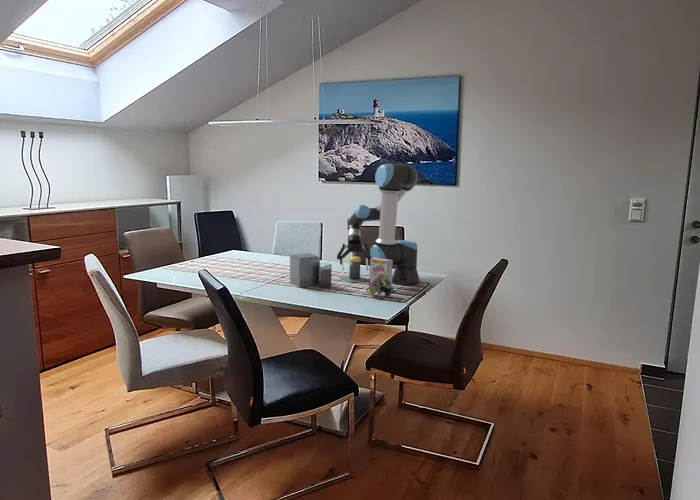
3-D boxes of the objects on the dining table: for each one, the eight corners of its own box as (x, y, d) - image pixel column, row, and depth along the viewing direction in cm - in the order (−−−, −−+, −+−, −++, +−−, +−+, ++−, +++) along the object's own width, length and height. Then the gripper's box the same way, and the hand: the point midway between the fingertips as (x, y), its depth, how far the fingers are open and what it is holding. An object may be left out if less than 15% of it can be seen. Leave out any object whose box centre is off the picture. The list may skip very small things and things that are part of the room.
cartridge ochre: (362, 279, 289) (362, 258, 287) (352, 280, 286) (353, 258, 284) (356, 276, 294) (357, 256, 292) (347, 277, 291) (347, 256, 289)
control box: (319, 284, 277) (319, 256, 274) (299, 287, 271) (299, 258, 268) (309, 280, 288) (309, 252, 285) (289, 282, 282) (289, 254, 279)
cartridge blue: (333, 287, 272) (333, 265, 270) (323, 288, 269) (323, 266, 267) (328, 284, 278) (328, 263, 275) (317, 286, 275) (317, 264, 272)
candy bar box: (368, 289, 269) (369, 258, 266) (373, 287, 273) (373, 257, 270) (387, 292, 263) (388, 261, 260) (392, 290, 268) (393, 259, 265)
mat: (369, 280, 288) (369, 279, 288) (350, 283, 282) (350, 281, 282) (358, 276, 298) (358, 275, 298) (340, 278, 292) (340, 277, 292)
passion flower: (386, 306, 258) (400, 288, 255) (375, 307, 249) (390, 289, 245) (371, 290, 263) (385, 273, 259) (360, 291, 254) (375, 273, 250)
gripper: (375, 242, 303) (376, 272, 290) (332, 241, 302) (332, 272, 289) (376, 234, 296) (378, 265, 284) (332, 234, 295) (332, 265, 283)
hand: (355, 269), depth 287 cm, fingers open, 13 cm apart
